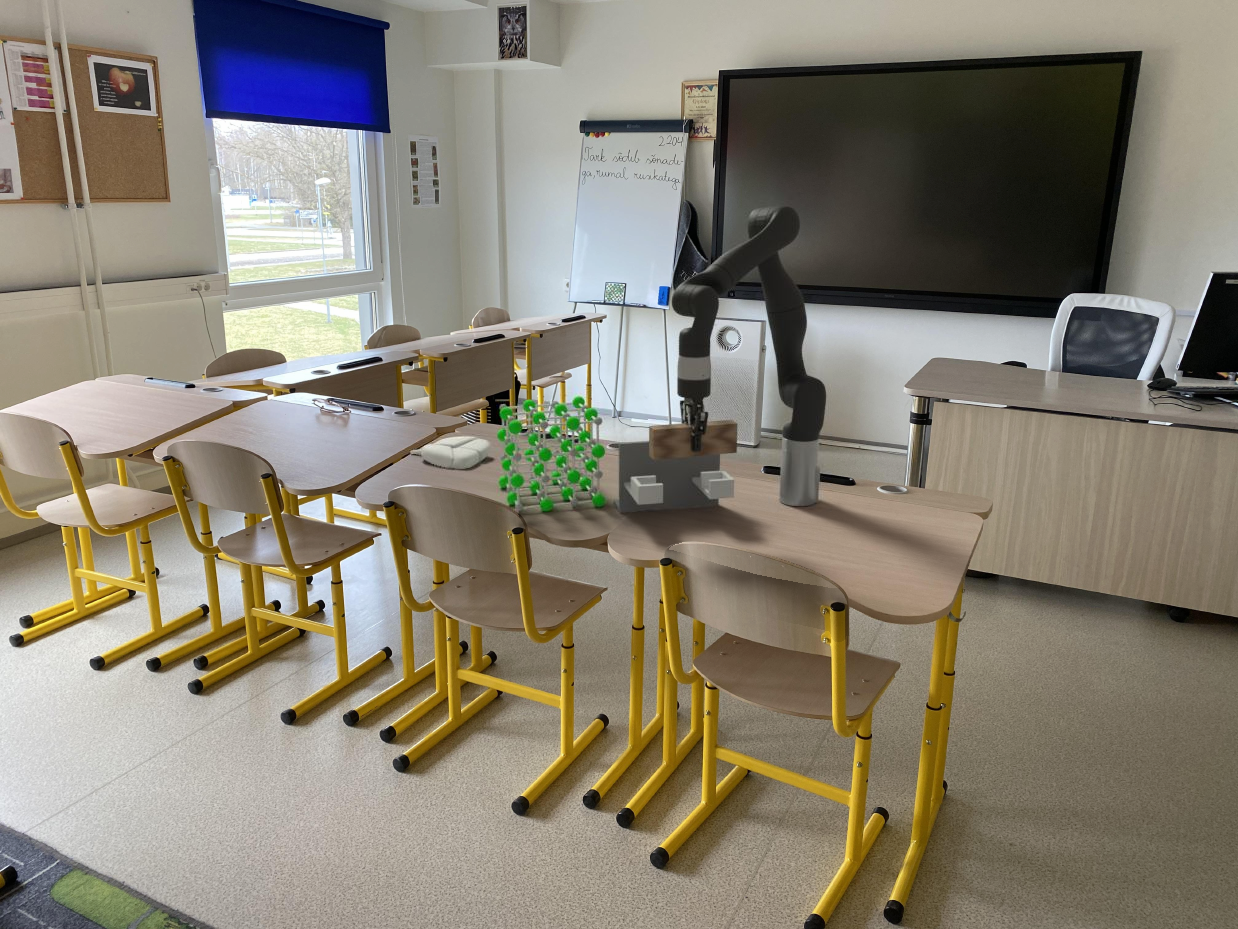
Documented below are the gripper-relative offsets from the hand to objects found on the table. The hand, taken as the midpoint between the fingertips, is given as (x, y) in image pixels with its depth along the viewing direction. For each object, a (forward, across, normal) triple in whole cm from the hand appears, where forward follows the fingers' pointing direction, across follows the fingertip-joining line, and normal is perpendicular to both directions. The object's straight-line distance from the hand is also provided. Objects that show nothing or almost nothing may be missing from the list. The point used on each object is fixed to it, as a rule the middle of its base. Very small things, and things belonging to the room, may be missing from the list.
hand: (693, 448), depth 211 cm
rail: (+1, 0, 0) cm, 1 cm away
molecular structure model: (+21, +34, +28) cm, 49 cm away
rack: (+21, +14, 0) cm, 25 cm away
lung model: (+21, +77, +53) cm, 96 cm away
